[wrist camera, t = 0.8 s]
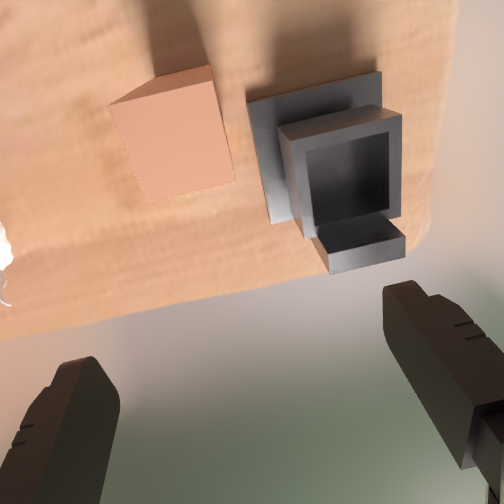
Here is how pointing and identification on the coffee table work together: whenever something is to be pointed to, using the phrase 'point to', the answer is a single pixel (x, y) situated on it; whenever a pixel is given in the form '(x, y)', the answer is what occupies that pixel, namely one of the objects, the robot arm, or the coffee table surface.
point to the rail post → (174, 134)
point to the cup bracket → (334, 168)
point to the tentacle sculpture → (4, 262)
